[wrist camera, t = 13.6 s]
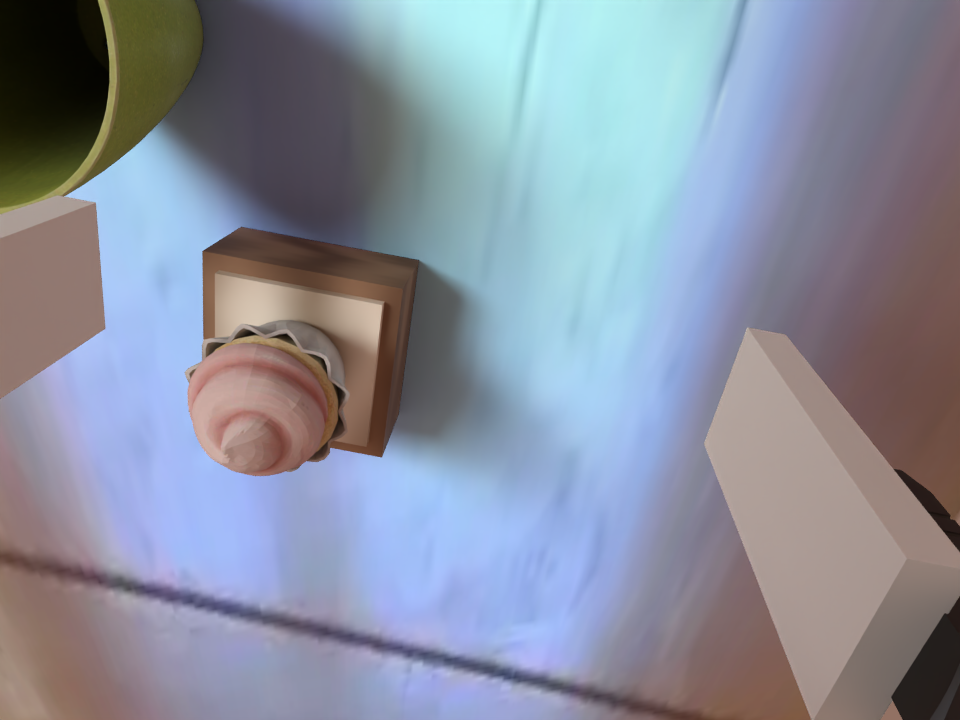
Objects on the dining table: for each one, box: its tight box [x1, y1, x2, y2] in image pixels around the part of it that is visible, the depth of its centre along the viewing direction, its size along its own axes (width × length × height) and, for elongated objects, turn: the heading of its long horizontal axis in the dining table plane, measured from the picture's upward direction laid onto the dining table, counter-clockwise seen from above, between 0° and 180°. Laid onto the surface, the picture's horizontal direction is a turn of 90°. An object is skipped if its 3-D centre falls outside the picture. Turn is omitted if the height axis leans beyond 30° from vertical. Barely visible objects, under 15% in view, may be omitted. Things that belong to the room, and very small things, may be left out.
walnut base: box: [203, 227, 419, 457], centre depth 45 cm, size 12×12×6 cm
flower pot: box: [0, 0, 203, 214], centre depth 34 cm, size 15×15×16 cm
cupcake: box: [185, 320, 350, 476], centre depth 38 cm, size 9×9×10 cm
